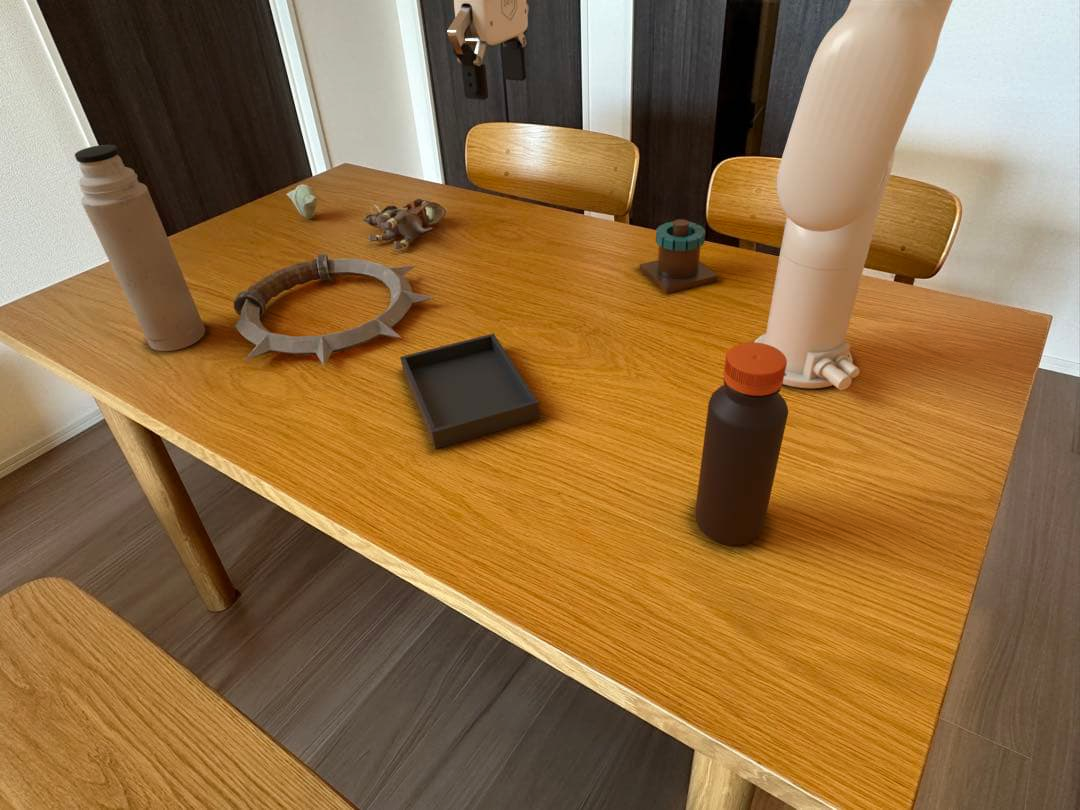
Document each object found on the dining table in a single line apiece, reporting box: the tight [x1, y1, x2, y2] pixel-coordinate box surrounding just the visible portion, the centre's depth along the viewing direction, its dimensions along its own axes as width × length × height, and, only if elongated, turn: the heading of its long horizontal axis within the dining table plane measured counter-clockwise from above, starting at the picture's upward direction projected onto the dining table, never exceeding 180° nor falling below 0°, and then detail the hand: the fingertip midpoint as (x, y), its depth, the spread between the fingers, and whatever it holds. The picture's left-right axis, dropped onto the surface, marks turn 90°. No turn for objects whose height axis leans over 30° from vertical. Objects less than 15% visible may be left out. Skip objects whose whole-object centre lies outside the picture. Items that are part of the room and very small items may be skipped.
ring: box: [655, 221, 706, 251], centre depth 107 cm, size 7×7×2 cm
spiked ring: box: [233, 253, 436, 367], centre depth 106 cm, size 33×4×30 cm
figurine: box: [362, 198, 447, 250], centre depth 129 cm, size 20×6×17 cm
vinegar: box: [694, 341, 789, 546], centre depth 64 cm, size 7×7×20 cm
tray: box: [399, 333, 541, 450], centre depth 89 cm, size 17×13×3 cm
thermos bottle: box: [74, 144, 206, 352], centre depth 96 cm, size 8×8×28 cm
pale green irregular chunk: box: [286, 183, 318, 220], centre depth 136 cm, size 8×4×7 cm, turn 52°
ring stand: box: [639, 218, 718, 295], centre depth 109 cm, size 9×9×9 cm
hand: (496, 88), depth 91 cm, fingers open, 9 cm apart
